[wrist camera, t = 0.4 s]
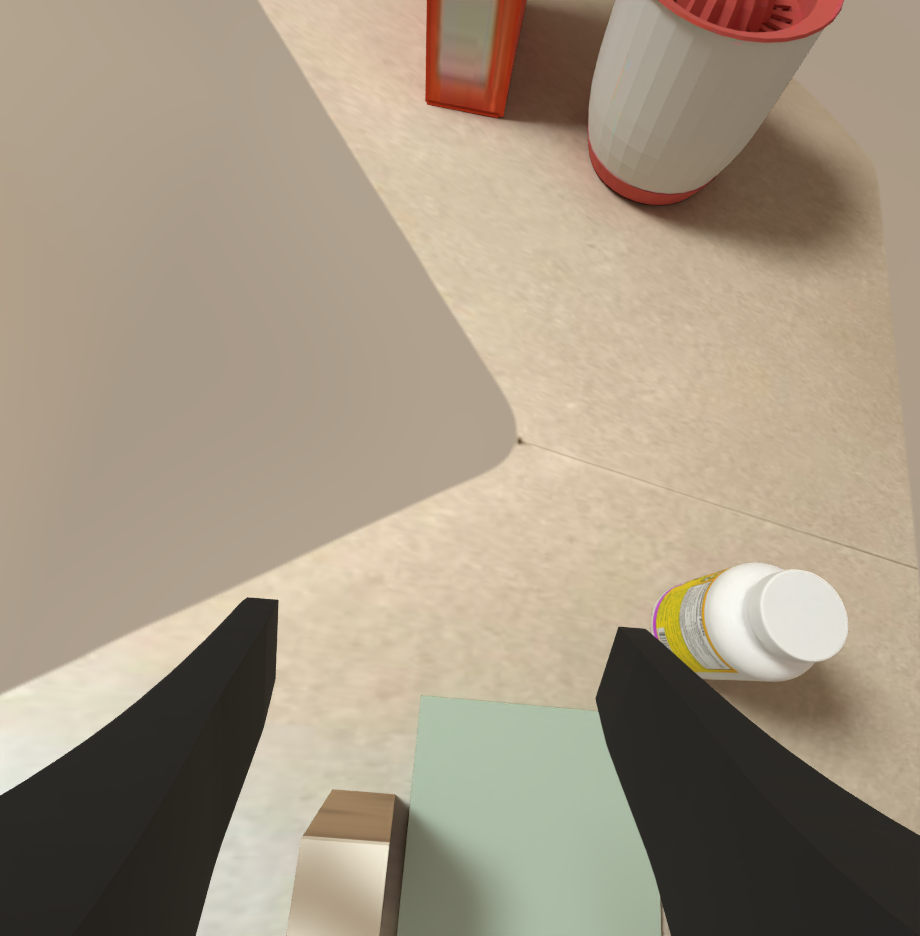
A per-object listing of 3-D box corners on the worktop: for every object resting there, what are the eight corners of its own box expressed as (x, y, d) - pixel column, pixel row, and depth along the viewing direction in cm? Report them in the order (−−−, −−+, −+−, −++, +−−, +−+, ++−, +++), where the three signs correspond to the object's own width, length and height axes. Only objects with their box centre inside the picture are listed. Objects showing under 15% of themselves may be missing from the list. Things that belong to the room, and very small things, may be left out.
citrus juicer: (751, 134, 58) (913, -119, 40) (689, 252, 53) (844, 22, 34) (614, 70, 60) (707, -204, 41) (540, 177, 54) (609, -82, 35)
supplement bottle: (744, 603, 42) (877, 578, 30) (726, 693, 40) (862, 705, 28) (658, 570, 43) (756, 532, 31) (636, 657, 40) (732, 654, 28)
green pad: (661, 1050, 33) (664, 1055, 33) (386, 1034, 33) (386, 1038, 32) (653, 716, 39) (655, 716, 39) (421, 695, 39) (421, 695, 38)
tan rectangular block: (383, 906, 35) (371, 1010, 24) (316, 901, 34) (275, 1004, 24) (395, 794, 37) (388, 845, 26) (332, 789, 36) (301, 838, 26)
